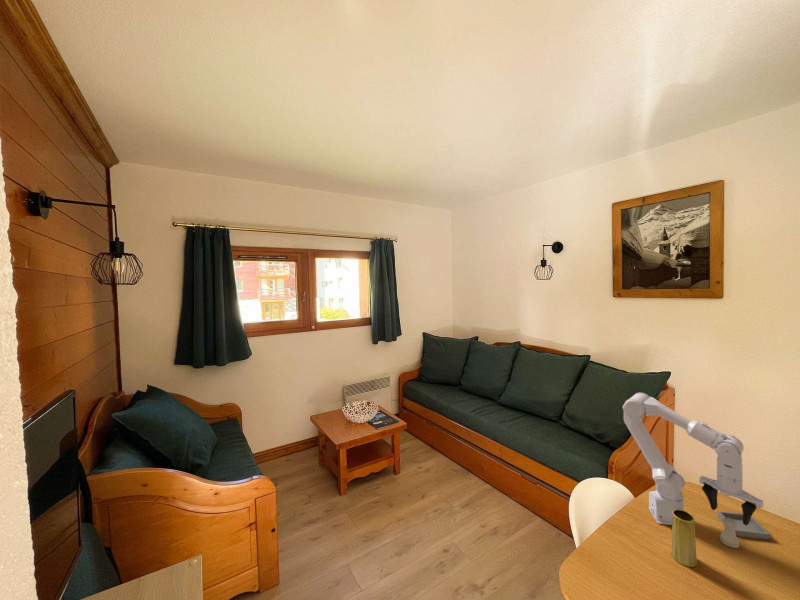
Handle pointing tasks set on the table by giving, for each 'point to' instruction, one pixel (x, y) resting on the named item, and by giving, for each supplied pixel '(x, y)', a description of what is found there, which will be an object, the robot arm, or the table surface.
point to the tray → (742, 530)
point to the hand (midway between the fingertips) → (729, 515)
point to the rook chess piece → (729, 533)
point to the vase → (683, 538)
